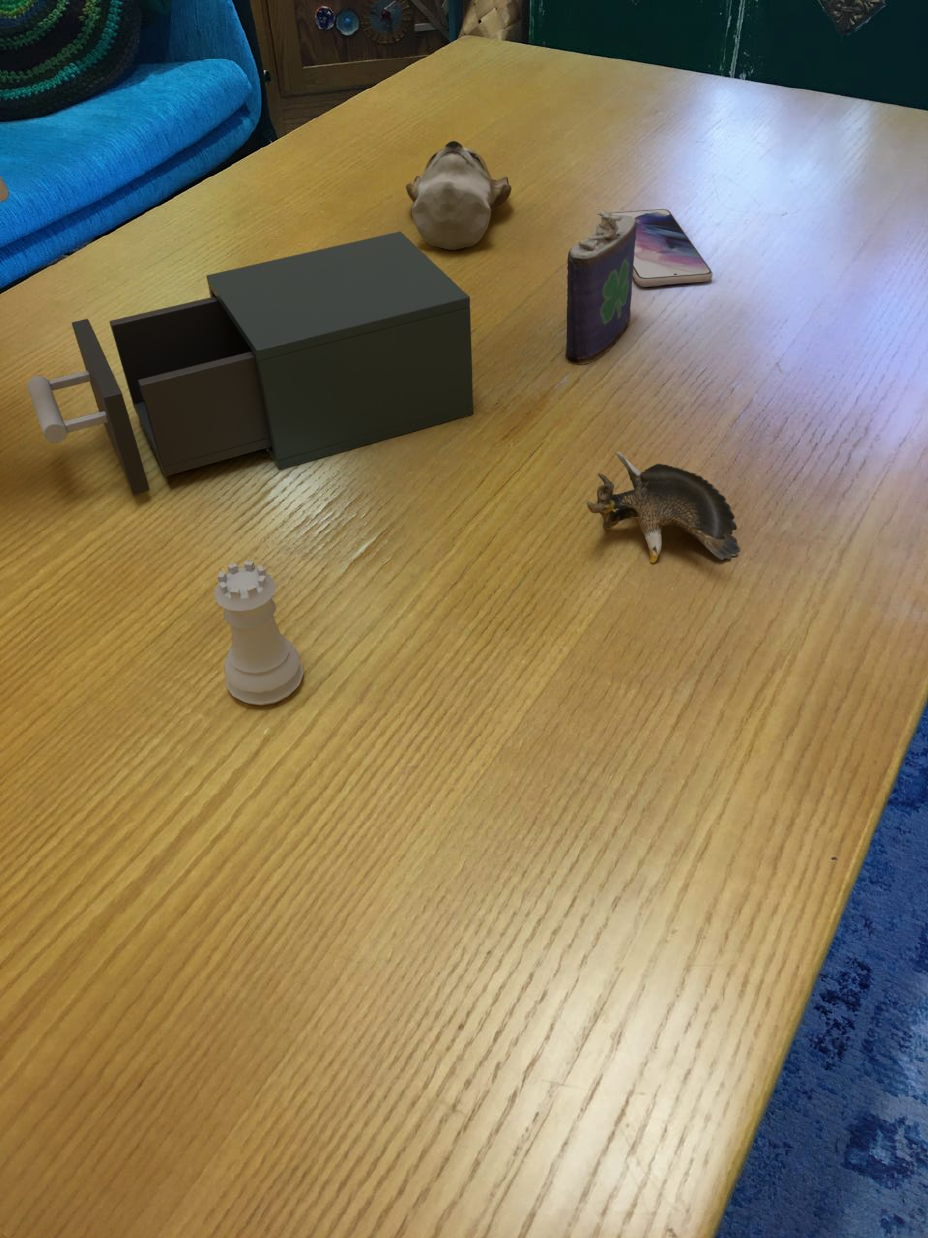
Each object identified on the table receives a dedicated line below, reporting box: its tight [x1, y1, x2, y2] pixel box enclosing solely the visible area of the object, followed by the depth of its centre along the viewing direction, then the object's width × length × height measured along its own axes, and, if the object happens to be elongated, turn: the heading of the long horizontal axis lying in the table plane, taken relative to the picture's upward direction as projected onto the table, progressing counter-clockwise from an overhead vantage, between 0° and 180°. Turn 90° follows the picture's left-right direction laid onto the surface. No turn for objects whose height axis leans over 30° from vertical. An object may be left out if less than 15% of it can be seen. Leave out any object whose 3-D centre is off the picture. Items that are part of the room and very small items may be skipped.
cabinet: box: [205, 231, 474, 471], centre depth 80 cm, size 16×13×10 cm
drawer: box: [26, 296, 272, 496], centre depth 76 cm, size 19×11×8 cm, turn 115°
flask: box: [565, 210, 637, 365], centre depth 85 cm, size 9×3×11 cm, turn 148°
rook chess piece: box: [213, 560, 304, 706], centre depth 59 cm, size 4×4×8 cm
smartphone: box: [600, 208, 714, 288], centre depth 100 cm, size 7×1×15 cm
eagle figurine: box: [586, 451, 741, 564], centre depth 67 cm, size 8×7×9 cm
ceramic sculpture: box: [405, 140, 513, 251], centre depth 103 cm, size 11×9×15 cm
